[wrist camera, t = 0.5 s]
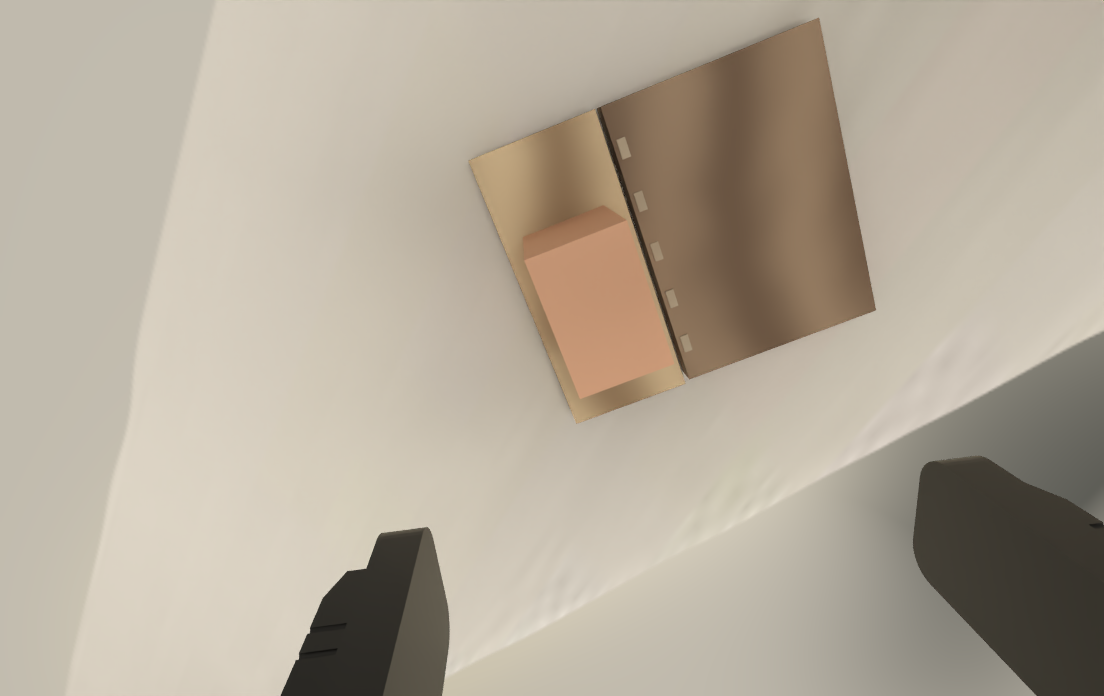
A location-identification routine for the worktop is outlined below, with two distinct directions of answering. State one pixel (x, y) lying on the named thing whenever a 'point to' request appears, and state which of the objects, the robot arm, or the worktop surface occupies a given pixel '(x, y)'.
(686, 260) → the brown notebook
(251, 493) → the worktop surface
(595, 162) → the stub
